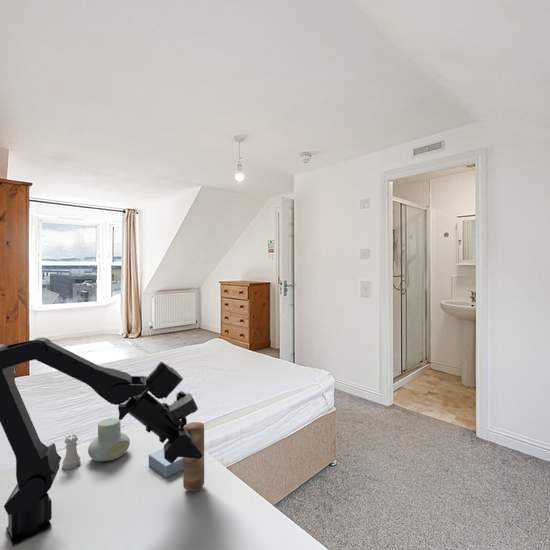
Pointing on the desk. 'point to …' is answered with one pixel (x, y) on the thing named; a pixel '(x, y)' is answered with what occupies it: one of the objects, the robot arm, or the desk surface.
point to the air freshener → (109, 441)
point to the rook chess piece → (71, 453)
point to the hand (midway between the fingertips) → (199, 451)
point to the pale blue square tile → (164, 463)
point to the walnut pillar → (192, 466)
